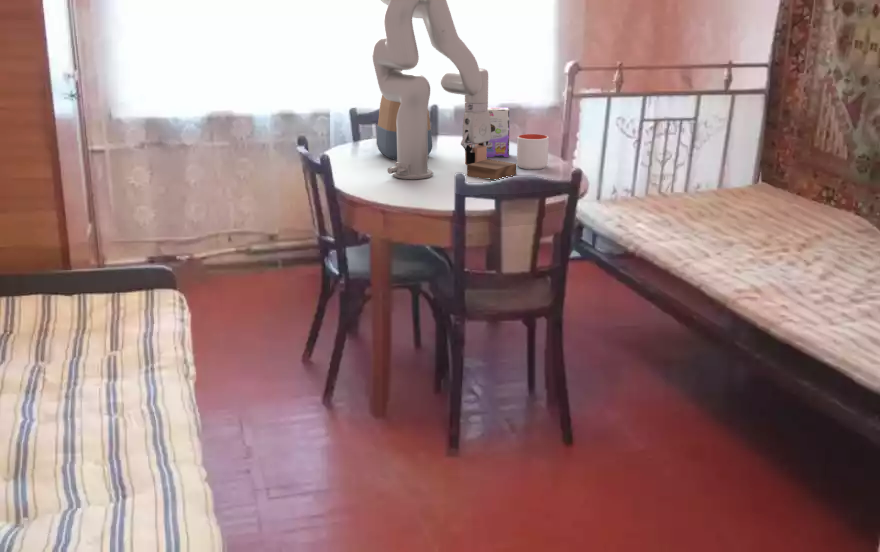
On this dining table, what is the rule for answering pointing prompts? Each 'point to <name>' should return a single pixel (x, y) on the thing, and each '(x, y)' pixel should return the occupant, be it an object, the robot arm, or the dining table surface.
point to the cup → (532, 151)
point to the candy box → (499, 132)
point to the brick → (479, 153)
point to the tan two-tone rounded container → (393, 129)
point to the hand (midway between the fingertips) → (475, 162)
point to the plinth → (491, 169)
